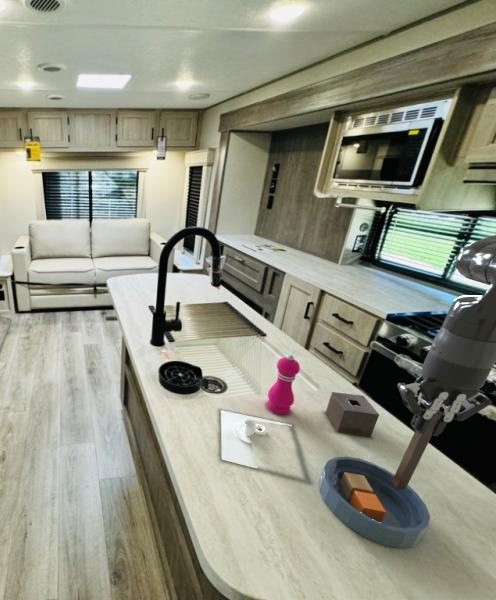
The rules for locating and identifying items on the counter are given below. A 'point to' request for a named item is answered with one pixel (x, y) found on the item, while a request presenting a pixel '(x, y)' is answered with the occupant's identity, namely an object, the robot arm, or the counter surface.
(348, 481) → the block
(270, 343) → the counter surface
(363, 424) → the stick stand
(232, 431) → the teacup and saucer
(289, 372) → the pepper mill
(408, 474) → the stir stick
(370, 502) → the block
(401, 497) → the bowl
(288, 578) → the counter surface
